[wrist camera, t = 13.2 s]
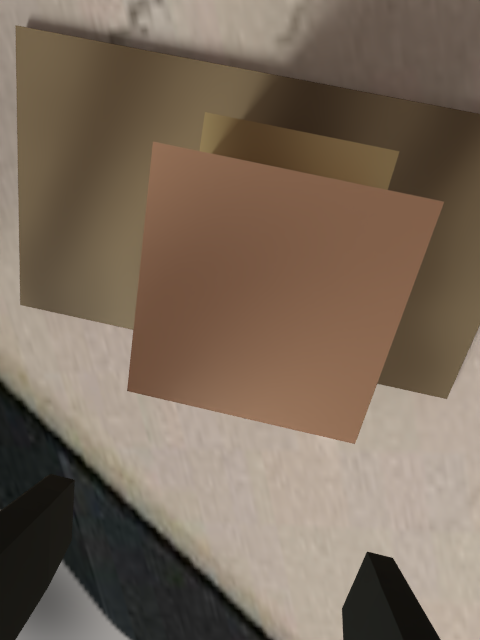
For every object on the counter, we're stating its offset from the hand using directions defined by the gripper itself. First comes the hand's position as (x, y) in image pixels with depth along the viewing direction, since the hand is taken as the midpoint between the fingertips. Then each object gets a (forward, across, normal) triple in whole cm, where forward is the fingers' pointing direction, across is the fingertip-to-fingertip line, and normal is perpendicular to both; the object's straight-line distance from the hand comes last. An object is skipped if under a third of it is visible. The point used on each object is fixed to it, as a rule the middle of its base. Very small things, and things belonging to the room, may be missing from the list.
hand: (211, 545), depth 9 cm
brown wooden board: (+10, +1, -6) cm, 12 cm away
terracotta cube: (+4, 0, -6) cm, 7 cm away
